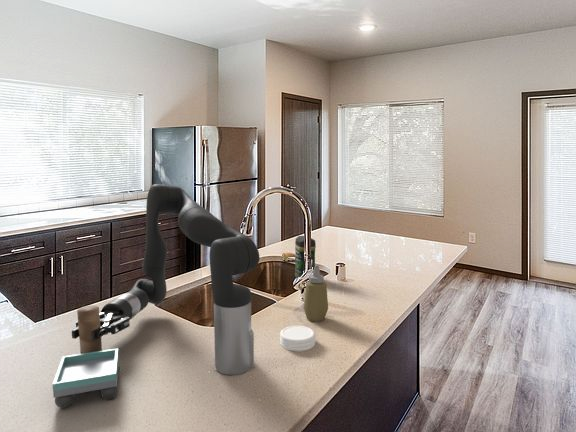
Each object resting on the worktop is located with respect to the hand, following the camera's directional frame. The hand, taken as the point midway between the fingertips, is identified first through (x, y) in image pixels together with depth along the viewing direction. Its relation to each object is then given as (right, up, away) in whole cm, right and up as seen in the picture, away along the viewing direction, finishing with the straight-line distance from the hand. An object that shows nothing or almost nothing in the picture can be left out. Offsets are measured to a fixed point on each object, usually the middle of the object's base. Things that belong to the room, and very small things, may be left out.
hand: (83, 335), depth 101 cm
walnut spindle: (0, -8, +4) cm, 8 cm away
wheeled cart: (+7, -10, -10) cm, 15 cm away
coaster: (+54, -7, +14) cm, 56 cm away
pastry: (+52, +7, +104) cm, 116 cm away
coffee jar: (+59, +3, +73) cm, 94 cm away
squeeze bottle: (+60, -4, +31) cm, 68 cm away
